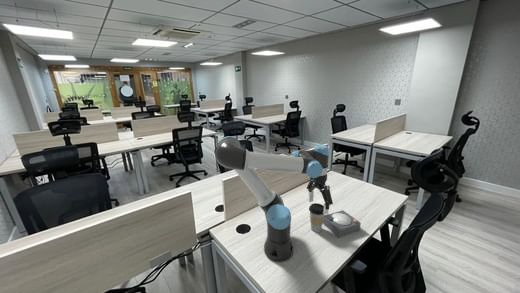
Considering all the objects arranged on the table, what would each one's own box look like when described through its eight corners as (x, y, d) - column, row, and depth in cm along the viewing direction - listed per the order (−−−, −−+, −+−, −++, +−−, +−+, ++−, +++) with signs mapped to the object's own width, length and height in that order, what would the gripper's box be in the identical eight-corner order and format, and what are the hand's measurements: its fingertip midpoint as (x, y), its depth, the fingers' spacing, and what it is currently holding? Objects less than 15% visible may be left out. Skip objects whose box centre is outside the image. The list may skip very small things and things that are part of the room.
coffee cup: (324, 235, 116) (326, 212, 112) (307, 233, 118) (309, 210, 114) (323, 224, 125) (325, 203, 121) (307, 223, 127) (308, 201, 123)
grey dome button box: (338, 237, 114) (339, 228, 112) (322, 223, 127) (322, 214, 125) (359, 230, 120) (361, 221, 118) (342, 216, 132) (343, 208, 131)
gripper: (342, 181, 102) (338, 217, 108) (312, 164, 124) (310, 195, 130) (330, 184, 99) (327, 221, 105) (301, 166, 121) (300, 198, 127)
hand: (317, 207), depth 117 cm, fingers open, 13 cm apart
